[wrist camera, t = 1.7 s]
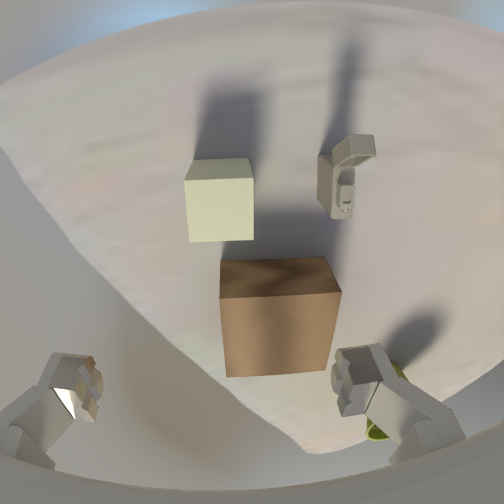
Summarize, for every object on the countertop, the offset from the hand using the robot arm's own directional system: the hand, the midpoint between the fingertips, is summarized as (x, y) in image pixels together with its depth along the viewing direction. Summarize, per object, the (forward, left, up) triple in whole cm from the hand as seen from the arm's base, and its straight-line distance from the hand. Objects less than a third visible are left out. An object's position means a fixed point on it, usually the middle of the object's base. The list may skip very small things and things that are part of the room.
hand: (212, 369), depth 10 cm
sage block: (0, 0, -19) cm, 19 cm away
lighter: (-9, -2, -20) cm, 22 cm away
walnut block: (-5, +12, -20) cm, 24 cm away
